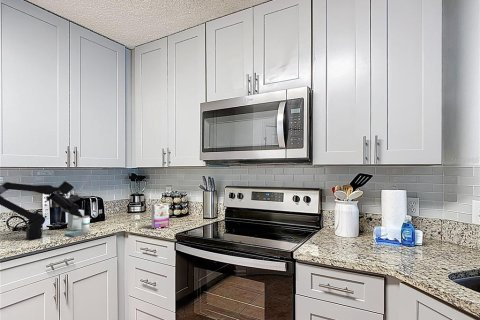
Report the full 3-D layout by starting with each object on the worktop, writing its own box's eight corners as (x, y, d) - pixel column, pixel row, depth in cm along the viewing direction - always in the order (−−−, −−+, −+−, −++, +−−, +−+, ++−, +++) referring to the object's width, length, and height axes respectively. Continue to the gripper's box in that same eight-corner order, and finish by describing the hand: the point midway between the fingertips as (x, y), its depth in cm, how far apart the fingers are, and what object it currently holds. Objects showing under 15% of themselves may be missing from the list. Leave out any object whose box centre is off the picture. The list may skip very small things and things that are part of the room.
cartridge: (84, 232, 174) (84, 217, 174) (79, 231, 176) (79, 216, 176) (91, 230, 178) (91, 215, 178) (86, 230, 180) (86, 215, 181)
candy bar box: (166, 226, 194) (166, 203, 195) (169, 227, 190) (169, 203, 191) (150, 228, 187) (151, 204, 188) (153, 229, 183) (154, 205, 184)
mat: (73, 237, 161) (73, 235, 161) (64, 235, 165) (64, 233, 165) (88, 234, 169) (88, 232, 169) (79, 232, 173) (79, 230, 173)
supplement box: (71, 230, 178) (72, 211, 179) (67, 229, 183) (67, 210, 183) (83, 228, 184) (84, 210, 185) (79, 227, 189) (79, 209, 189)
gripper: (75, 191, 165) (94, 207, 173) (66, 189, 178) (85, 204, 186) (59, 205, 159) (80, 221, 167) (52, 202, 172) (71, 218, 180)
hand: (79, 216), depth 175 cm, fingers open, 9 cm apart
